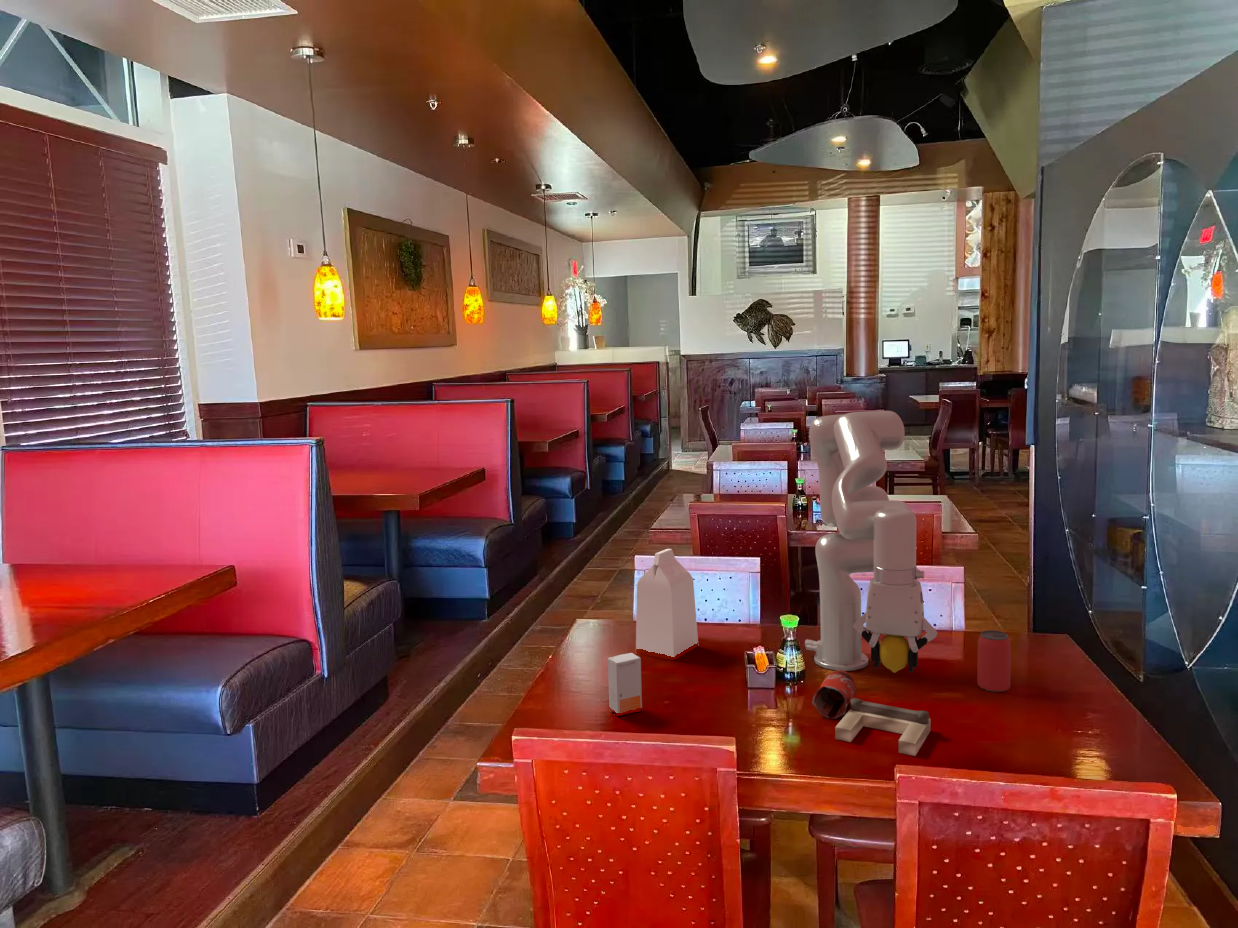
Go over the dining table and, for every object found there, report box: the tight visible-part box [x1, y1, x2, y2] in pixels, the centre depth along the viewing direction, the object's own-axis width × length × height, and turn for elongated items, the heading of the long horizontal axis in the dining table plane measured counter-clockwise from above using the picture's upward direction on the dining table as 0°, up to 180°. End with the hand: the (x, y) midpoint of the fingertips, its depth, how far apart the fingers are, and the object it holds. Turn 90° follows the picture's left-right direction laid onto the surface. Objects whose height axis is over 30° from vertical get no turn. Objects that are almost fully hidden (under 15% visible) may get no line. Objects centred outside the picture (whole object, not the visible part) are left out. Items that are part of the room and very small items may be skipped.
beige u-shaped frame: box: [834, 697, 932, 757], centre depth 162 cm, size 15×12×4 cm
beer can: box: [976, 629, 1012, 693], centre depth 182 cm, size 7×7×12 cm
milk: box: [635, 548, 699, 657], centre depth 213 cm, size 12×12×26 cm
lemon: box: [879, 635, 910, 673], centre depth 157 cm, size 6×6×8 cm
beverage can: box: [811, 670, 857, 719], centre depth 175 cm, size 7×12×7 cm, turn 153°
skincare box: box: [607, 652, 643, 713], centre depth 177 cm, size 6×4×12 cm
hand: (894, 666), depth 157 cm, fingers closed on lemon, 5 cm apart
